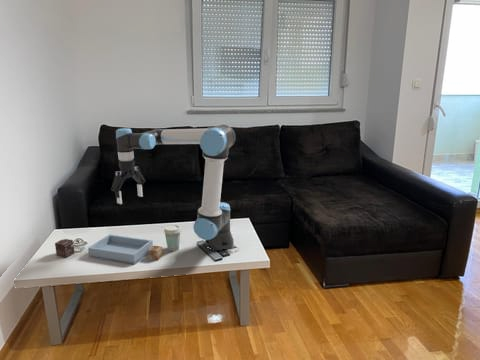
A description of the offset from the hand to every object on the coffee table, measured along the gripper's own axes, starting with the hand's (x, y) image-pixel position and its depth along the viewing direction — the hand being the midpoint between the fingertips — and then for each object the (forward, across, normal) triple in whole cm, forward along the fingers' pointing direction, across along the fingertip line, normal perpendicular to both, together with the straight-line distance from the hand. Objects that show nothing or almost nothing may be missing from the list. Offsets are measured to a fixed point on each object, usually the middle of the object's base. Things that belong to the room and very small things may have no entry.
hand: (130, 199), depth 195 cm
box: (+25, +27, -20) cm, 42 cm away
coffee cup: (+26, -7, +21) cm, 34 cm away
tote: (+25, +11, +2) cm, 27 cm away
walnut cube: (+25, +4, +20) cm, 33 cm away
